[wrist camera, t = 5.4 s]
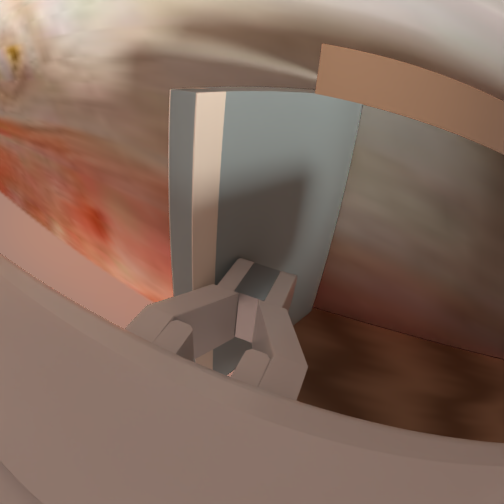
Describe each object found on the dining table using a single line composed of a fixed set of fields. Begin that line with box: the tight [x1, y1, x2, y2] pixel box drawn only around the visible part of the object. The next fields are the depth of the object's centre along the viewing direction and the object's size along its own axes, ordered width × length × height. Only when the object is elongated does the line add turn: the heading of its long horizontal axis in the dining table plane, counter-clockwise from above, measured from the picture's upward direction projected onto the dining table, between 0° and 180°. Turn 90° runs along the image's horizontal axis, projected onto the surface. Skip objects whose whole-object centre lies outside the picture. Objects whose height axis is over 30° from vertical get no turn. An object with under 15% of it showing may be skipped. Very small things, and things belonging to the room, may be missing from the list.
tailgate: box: [168, 86, 363, 375], centre depth 12 cm, size 1×11×8 cm, turn 175°
